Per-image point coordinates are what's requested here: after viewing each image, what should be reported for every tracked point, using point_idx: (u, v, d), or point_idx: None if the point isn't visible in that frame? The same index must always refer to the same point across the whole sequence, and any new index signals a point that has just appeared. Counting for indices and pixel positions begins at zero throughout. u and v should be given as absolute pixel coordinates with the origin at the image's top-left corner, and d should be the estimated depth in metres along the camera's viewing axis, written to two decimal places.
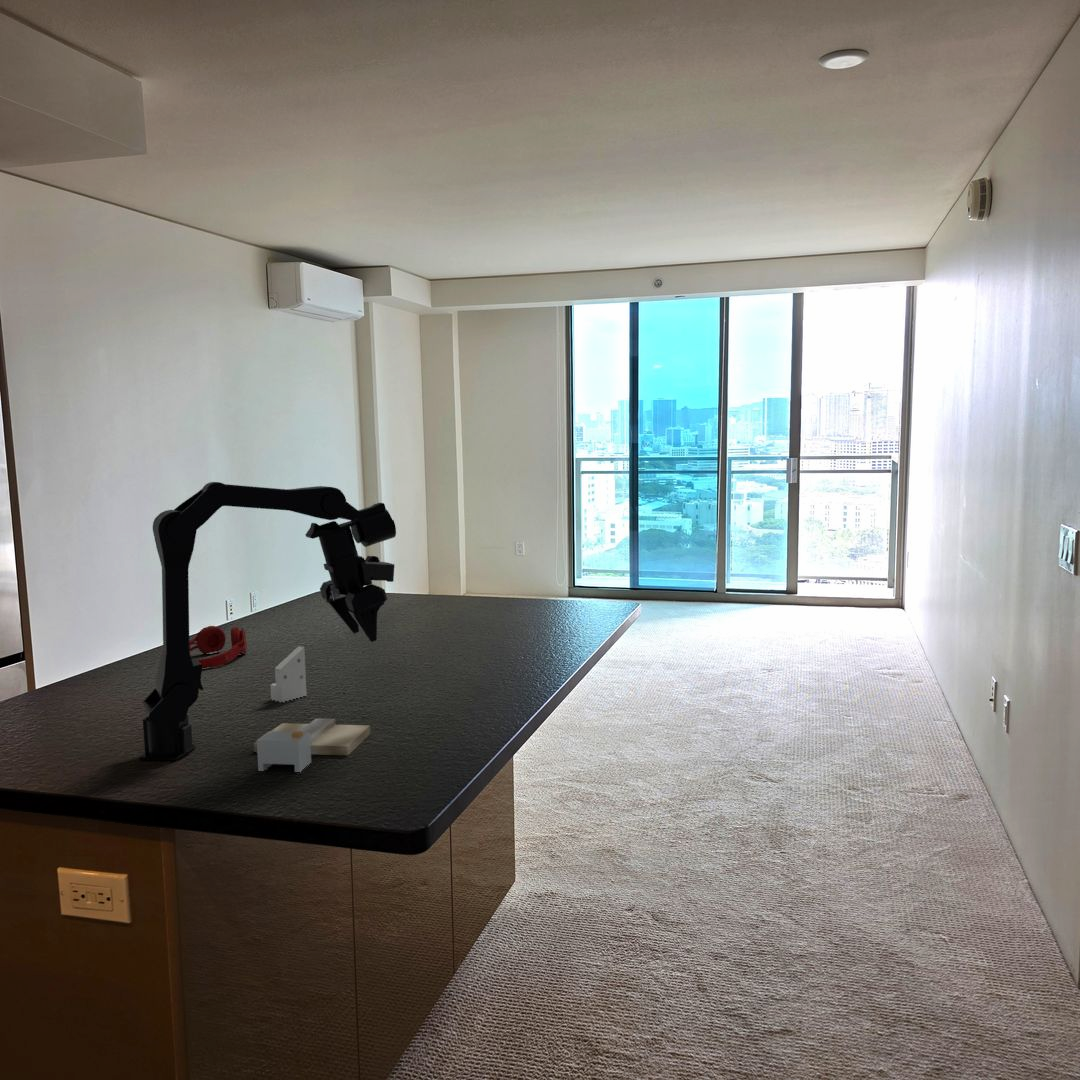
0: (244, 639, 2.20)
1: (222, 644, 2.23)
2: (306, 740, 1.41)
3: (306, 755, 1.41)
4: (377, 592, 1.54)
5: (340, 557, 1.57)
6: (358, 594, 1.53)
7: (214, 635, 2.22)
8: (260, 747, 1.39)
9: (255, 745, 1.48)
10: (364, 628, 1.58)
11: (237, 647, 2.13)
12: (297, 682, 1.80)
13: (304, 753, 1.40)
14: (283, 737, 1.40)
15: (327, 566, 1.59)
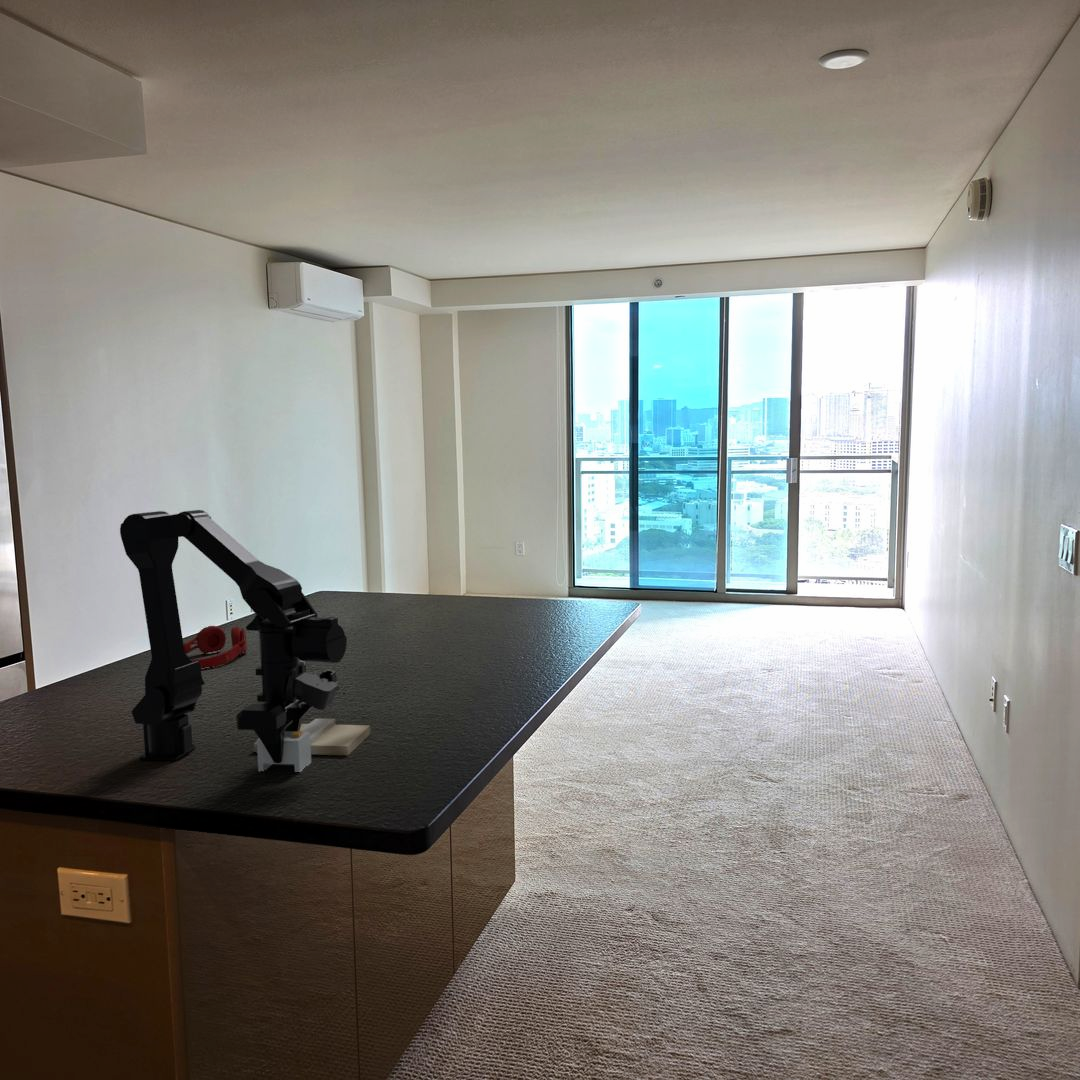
0: None
1: (222, 644, 2.23)
2: (306, 740, 1.41)
3: (306, 755, 1.41)
4: (264, 717, 1.30)
5: (266, 662, 1.37)
6: (245, 711, 1.31)
7: (214, 635, 2.22)
8: (260, 746, 1.39)
9: (255, 745, 1.48)
10: (267, 745, 1.37)
11: (237, 647, 2.14)
12: None
13: (304, 752, 1.40)
14: None
15: None
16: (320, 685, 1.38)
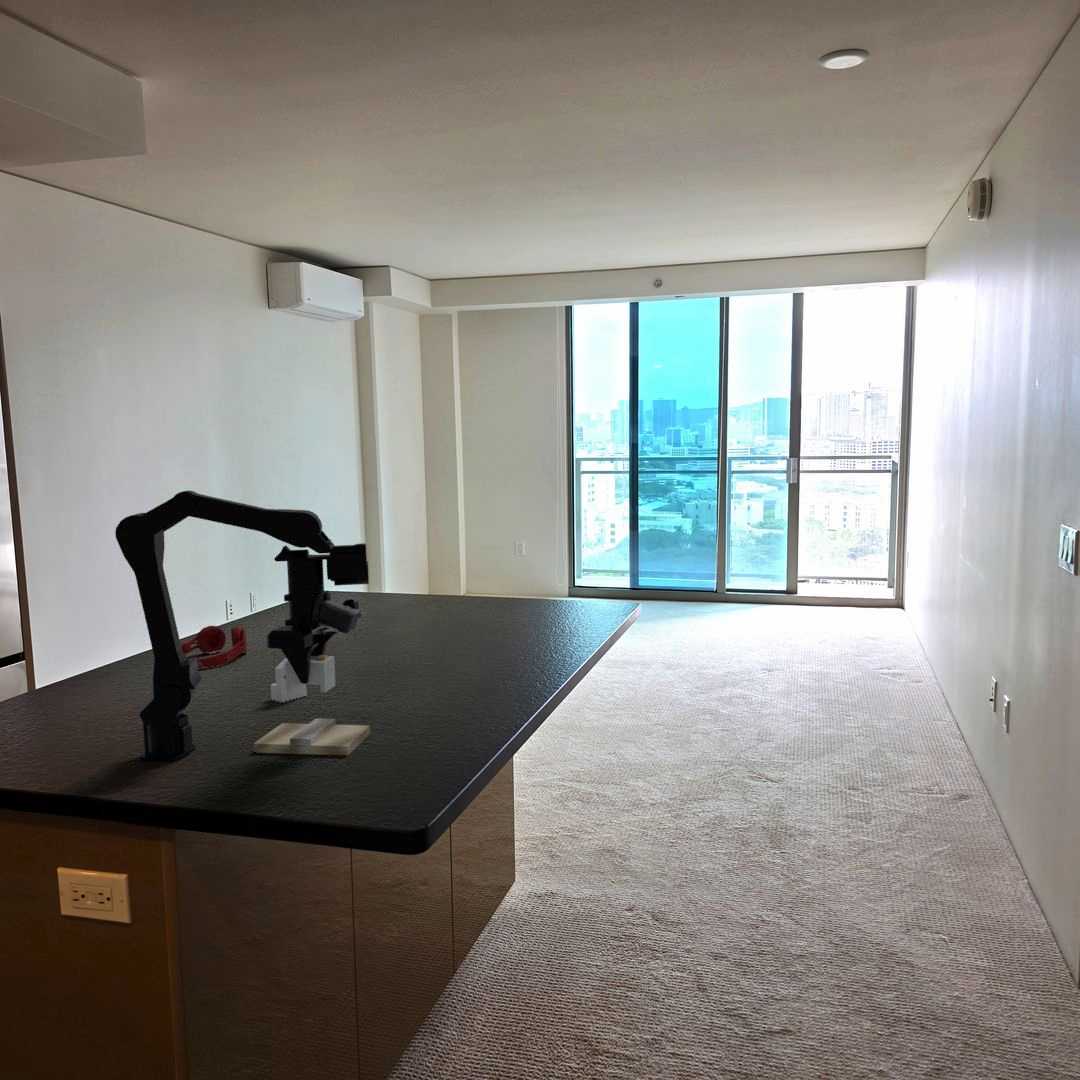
0: None
1: (222, 644, 2.23)
2: (331, 663, 1.51)
3: (331, 677, 1.51)
4: (293, 636, 1.41)
5: (293, 588, 1.47)
6: (275, 631, 1.41)
7: (214, 635, 2.22)
8: (288, 668, 1.49)
9: (255, 745, 1.48)
10: (294, 666, 1.47)
11: (238, 646, 2.14)
12: None
13: (329, 674, 1.50)
14: (310, 660, 1.50)
15: None
16: (344, 610, 1.48)
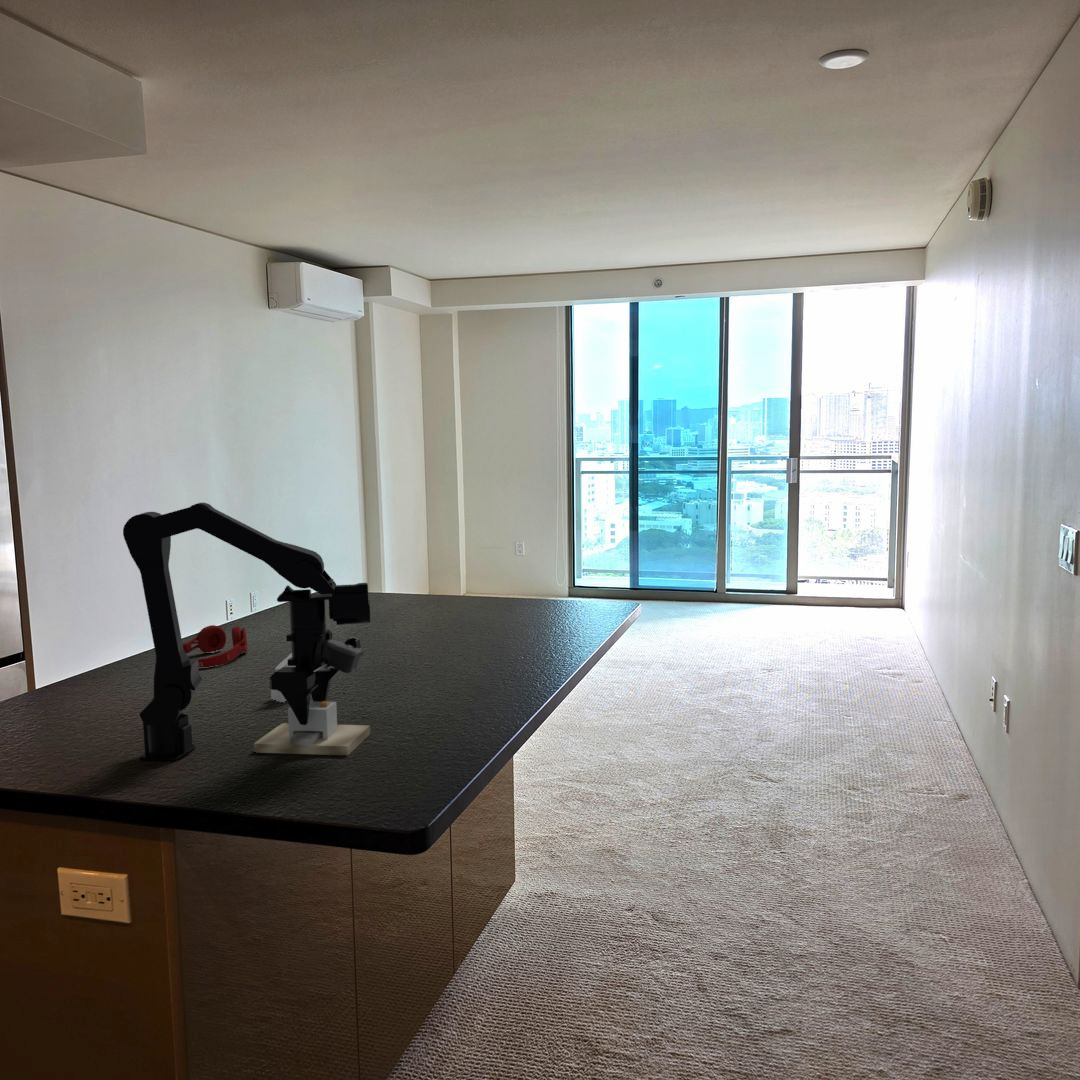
0: (245, 638, 2.21)
1: (223, 643, 2.24)
2: (333, 709, 1.52)
3: (333, 723, 1.52)
4: (296, 678, 1.41)
5: (296, 628, 1.48)
6: (278, 673, 1.42)
7: (215, 634, 2.23)
8: (291, 715, 1.50)
9: (255, 745, 1.48)
10: (293, 707, 1.47)
11: (238, 646, 2.14)
12: None
13: (331, 721, 1.51)
14: (312, 706, 1.51)
15: None
16: (346, 650, 1.49)
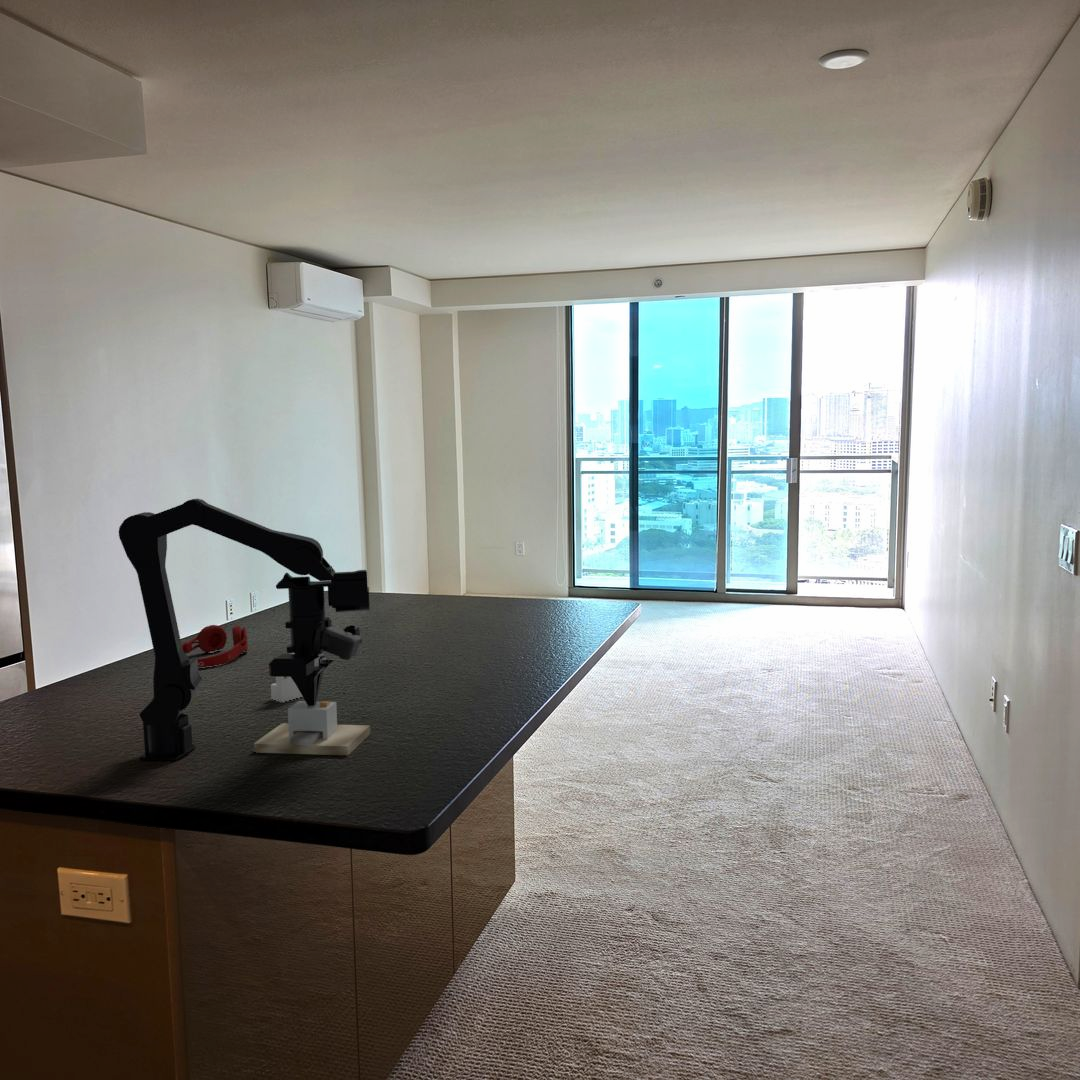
0: None
1: (223, 643, 2.24)
2: (333, 709, 1.52)
3: (333, 723, 1.52)
4: (295, 664, 1.41)
5: (295, 615, 1.48)
6: (277, 659, 1.42)
7: (215, 634, 2.23)
8: (291, 715, 1.50)
9: (255, 745, 1.48)
10: (301, 689, 1.50)
11: (239, 646, 2.15)
12: None
13: (331, 721, 1.51)
14: (312, 706, 1.51)
15: None
16: (345, 637, 1.48)
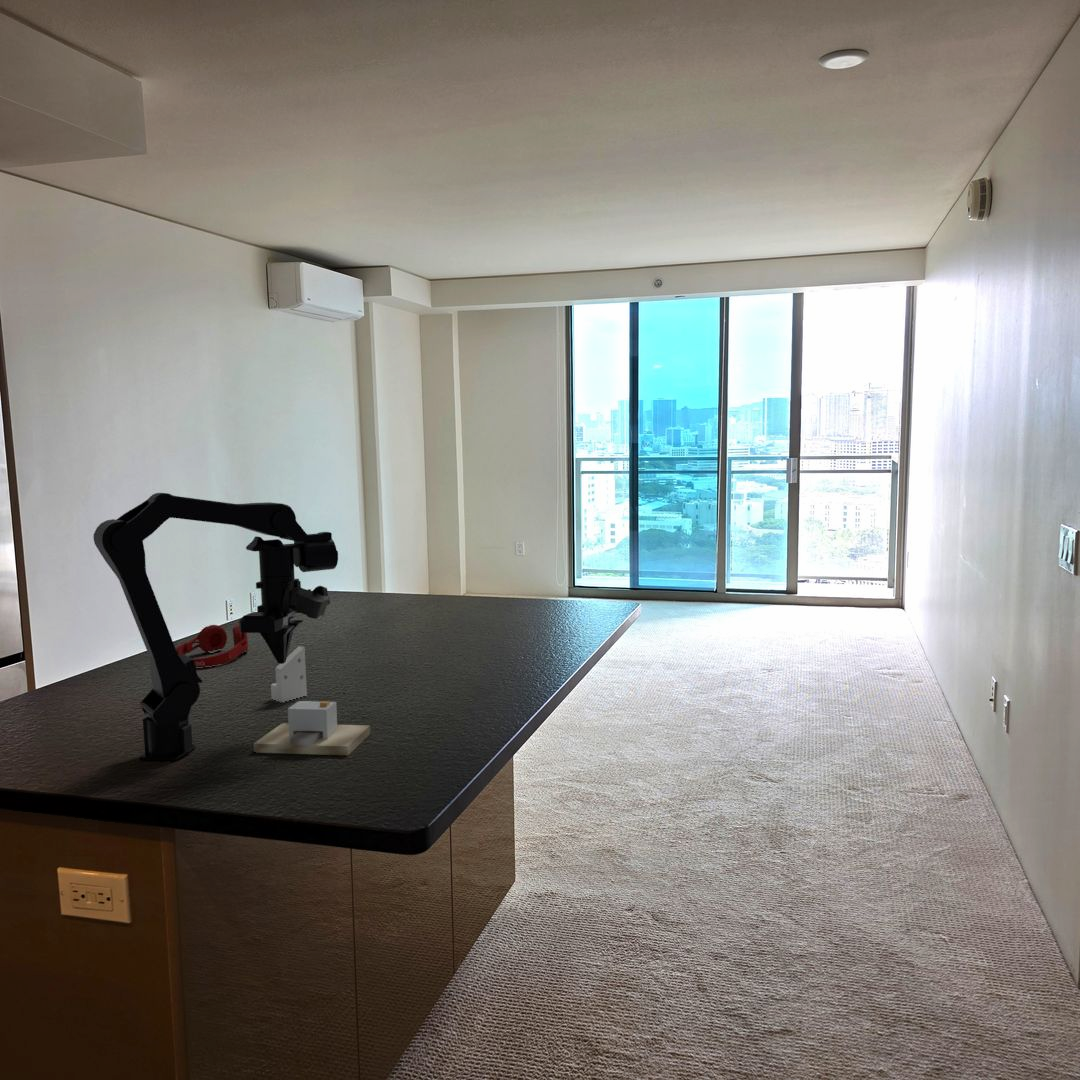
0: (246, 638, 2.22)
1: (224, 643, 2.24)
2: (333, 709, 1.52)
3: (333, 723, 1.52)
4: (264, 621, 1.48)
5: (265, 576, 1.55)
6: (246, 616, 1.49)
7: (216, 634, 2.23)
8: (291, 715, 1.50)
9: (255, 745, 1.48)
10: (271, 647, 1.57)
11: (240, 646, 2.15)
12: (297, 682, 1.80)
13: (331, 721, 1.51)
14: (312, 706, 1.51)
15: None
16: (313, 597, 1.55)
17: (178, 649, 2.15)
